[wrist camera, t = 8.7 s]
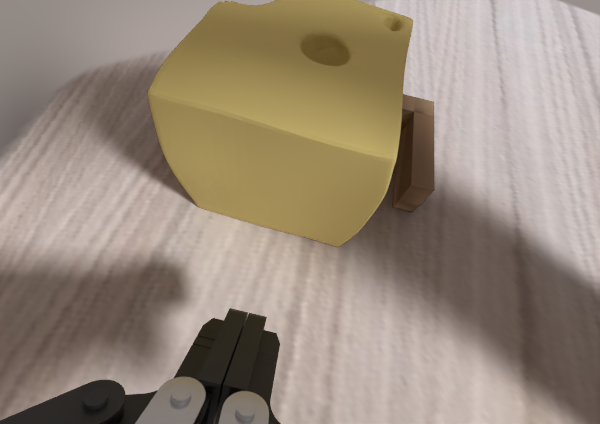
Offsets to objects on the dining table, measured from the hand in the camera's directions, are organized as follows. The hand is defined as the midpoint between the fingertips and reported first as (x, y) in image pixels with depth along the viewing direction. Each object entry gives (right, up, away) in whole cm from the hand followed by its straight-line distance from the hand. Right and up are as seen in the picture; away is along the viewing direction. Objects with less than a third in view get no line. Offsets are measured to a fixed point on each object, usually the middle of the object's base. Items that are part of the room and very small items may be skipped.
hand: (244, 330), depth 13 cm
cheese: (+1, +8, +11) cm, 13 cm away
